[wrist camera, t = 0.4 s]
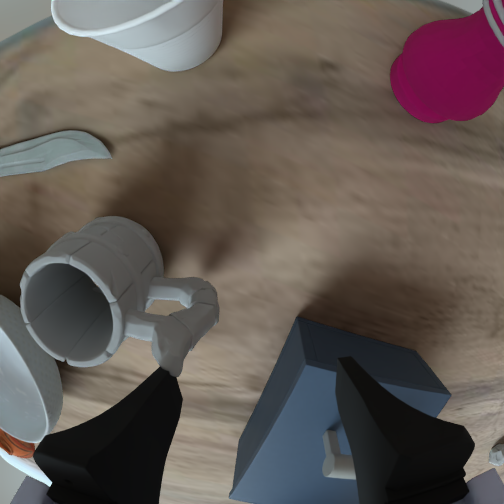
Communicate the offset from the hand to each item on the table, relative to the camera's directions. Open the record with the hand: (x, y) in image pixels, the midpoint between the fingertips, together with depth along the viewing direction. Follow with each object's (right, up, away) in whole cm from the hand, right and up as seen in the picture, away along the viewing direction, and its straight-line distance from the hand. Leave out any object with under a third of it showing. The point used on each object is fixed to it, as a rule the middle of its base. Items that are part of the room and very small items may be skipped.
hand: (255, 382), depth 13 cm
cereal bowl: (-25, -5, +14) cm, 29 cm away
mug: (-8, +4, +10) cm, 14 cm away
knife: (-24, +15, +10) cm, 30 cm away
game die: (+35, -23, +14) cm, 44 cm away
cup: (-5, +22, +7) cm, 24 cm away
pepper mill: (+13, +19, +7) cm, 24 cm away
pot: (-32, -18, +17) cm, 41 cm away
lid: (+6, -9, +6) cm, 13 cm away
